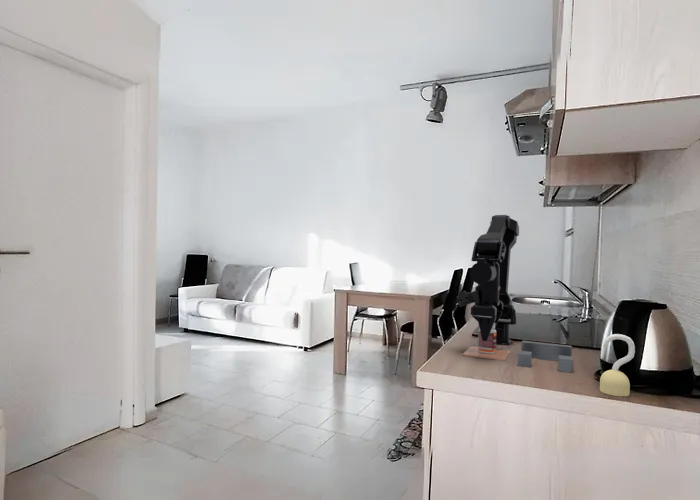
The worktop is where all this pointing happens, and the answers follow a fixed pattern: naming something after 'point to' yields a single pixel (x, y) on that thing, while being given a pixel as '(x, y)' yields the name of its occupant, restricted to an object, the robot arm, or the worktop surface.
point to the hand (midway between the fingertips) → (487, 338)
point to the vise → (546, 354)
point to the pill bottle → (487, 342)
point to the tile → (475, 353)
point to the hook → (614, 379)
